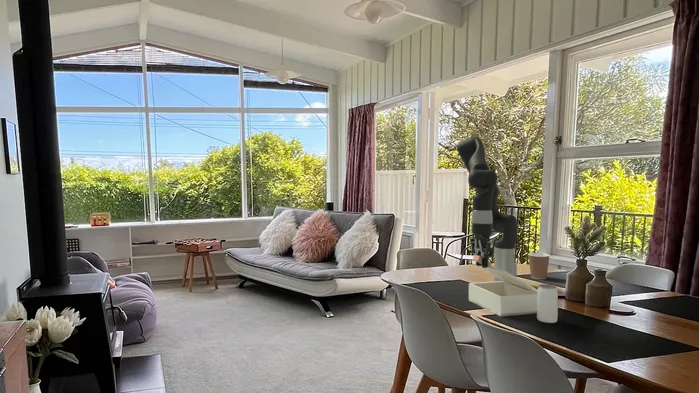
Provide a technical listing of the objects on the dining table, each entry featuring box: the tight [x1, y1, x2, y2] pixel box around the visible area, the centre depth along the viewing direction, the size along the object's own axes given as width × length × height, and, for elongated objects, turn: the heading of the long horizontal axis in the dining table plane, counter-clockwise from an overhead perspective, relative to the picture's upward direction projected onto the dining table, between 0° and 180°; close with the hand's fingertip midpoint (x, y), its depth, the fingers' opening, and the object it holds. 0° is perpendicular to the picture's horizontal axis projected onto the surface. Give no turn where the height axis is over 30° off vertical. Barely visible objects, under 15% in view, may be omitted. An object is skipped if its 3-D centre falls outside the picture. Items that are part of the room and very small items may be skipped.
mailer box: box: [468, 281, 537, 318], centre depth 163 cm, size 16×22×7 cm
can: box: [536, 284, 559, 324], centre depth 146 cm, size 6×6×12 cm
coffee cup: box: [527, 252, 551, 280], centre depth 213 cm, size 10×10×12 cm
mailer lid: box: [471, 254, 538, 293], centre depth 162 cm, size 23×22×2 cm
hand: (481, 266), depth 160 cm, fingers closed on mailer lid, 3 cm apart
